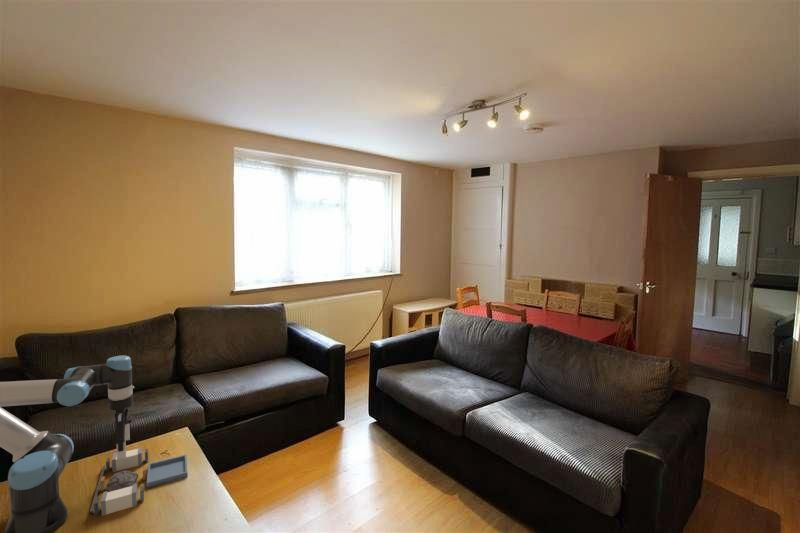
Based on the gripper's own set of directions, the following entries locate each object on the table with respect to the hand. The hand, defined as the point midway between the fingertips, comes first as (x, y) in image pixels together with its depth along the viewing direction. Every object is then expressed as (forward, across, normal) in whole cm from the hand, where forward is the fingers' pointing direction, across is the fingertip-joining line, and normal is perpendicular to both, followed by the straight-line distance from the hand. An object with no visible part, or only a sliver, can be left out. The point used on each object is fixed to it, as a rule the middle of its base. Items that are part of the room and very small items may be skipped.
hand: (123, 448), depth 146 cm
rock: (+15, 0, +1) cm, 15 cm away
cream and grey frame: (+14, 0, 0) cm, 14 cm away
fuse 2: (+14, -14, 0) cm, 20 cm away
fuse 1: (+14, +14, 0) cm, 20 cm away
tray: (+14, 0, -14) cm, 20 cm away
